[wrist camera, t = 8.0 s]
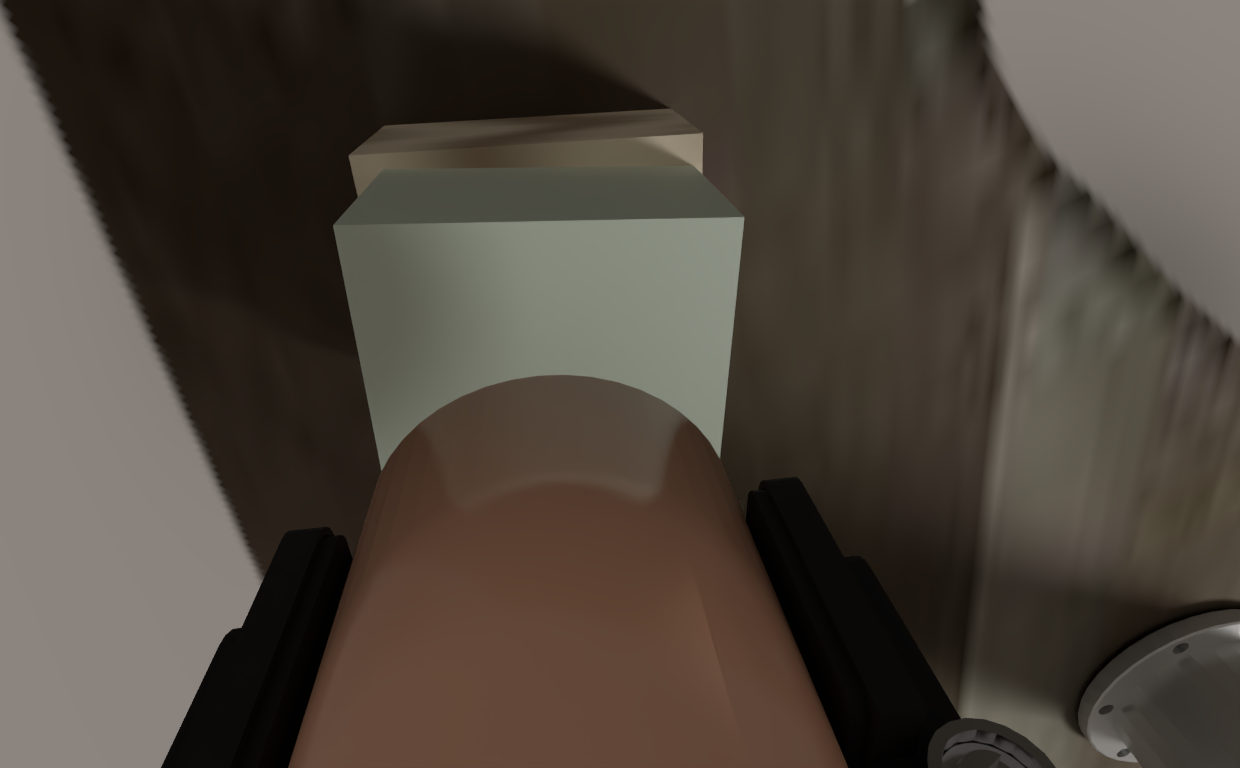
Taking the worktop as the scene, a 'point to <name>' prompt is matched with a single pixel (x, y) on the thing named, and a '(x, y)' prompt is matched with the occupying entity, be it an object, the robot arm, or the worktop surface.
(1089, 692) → the robot arm
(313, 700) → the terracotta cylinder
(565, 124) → the birch block
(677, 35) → the worktop surface
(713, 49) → the worktop surface
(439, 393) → the sage block
